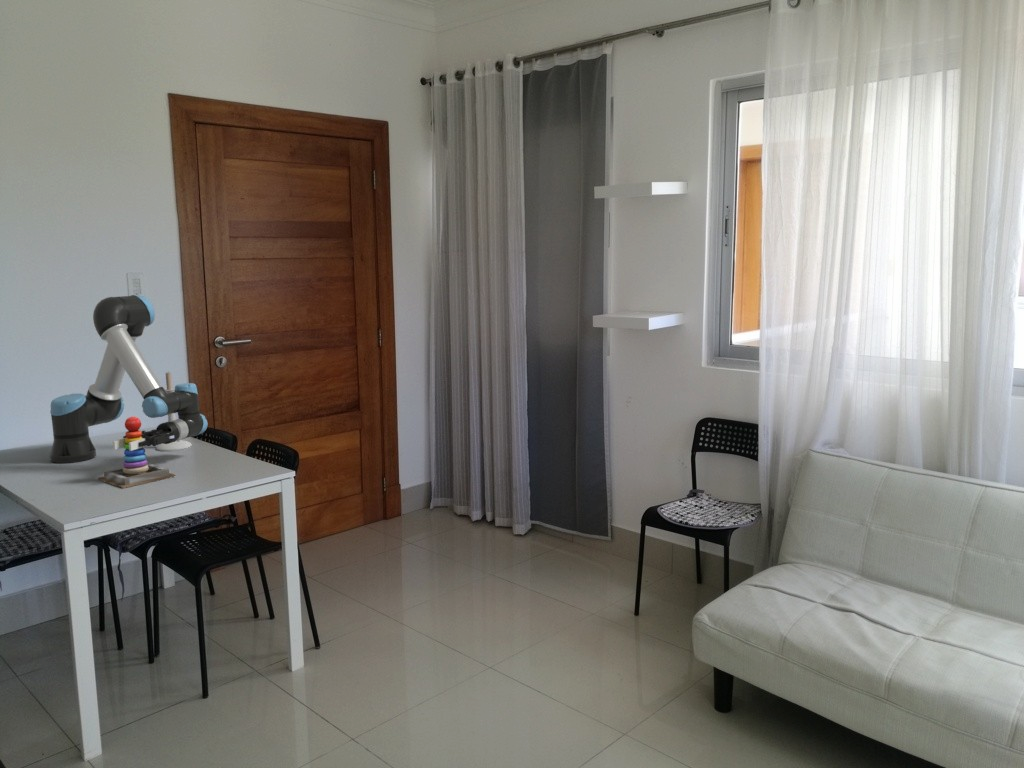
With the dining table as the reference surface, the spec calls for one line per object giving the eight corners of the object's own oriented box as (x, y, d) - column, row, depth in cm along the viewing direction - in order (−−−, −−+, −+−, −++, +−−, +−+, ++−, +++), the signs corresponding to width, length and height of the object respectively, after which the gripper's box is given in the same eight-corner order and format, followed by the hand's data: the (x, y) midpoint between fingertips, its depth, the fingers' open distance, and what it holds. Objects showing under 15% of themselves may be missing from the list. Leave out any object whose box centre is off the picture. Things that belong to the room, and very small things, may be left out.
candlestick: (149, 450, 321) (142, 373, 316) (169, 443, 333) (163, 368, 329) (179, 451, 318) (172, 374, 314) (198, 444, 331) (192, 369, 326)
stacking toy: (139, 475, 276) (133, 419, 274) (117, 474, 278) (112, 419, 275) (153, 469, 284) (149, 415, 281) (133, 468, 286) (128, 414, 283)
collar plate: (97, 479, 280) (97, 472, 280) (149, 468, 294) (149, 461, 294) (122, 488, 269) (122, 480, 268) (175, 476, 282) (175, 469, 282)
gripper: (194, 443, 294) (146, 459, 272) (151, 440, 300) (100, 455, 278) (192, 422, 293) (144, 436, 271) (149, 419, 299) (98, 433, 277)
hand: (122, 446), depth 275 cm, fingers closed on stacking toy, 6 cm apart
